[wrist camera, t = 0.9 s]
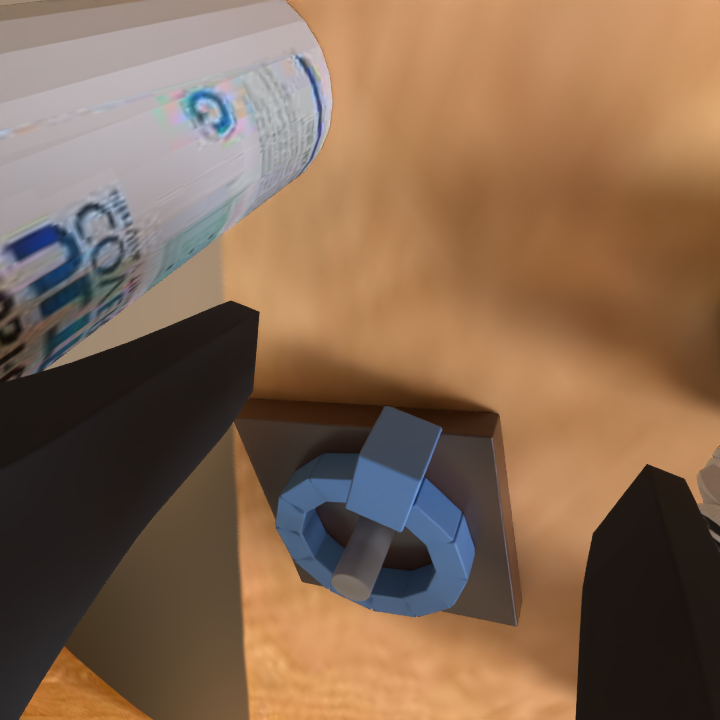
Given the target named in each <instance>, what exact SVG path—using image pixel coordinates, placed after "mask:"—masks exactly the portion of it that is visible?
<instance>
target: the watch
mask: <svg viewBox="0 0 720 720" xmlns="http://www.w3.org/2000/svg"><path fill="white" fill-rule="evenodd" d="M697 481H698V487H699V490H700V493H701V496H702V499H703V502H704V503H700V504H698V507H699V510H700V512H701V514H702V516H703V518H704V520H705V522H706V524H707V526H708V529H709V531H710V533H711V535H712V537H713V539H714V541H715V543H716V545H717V547H718V549H719V552H720V446H719V447H718V448H717V449H716V450H715V452H714V453H713V458H711V459H710V460H709V461H708V463H707V464H706V466H705V467H704V469H702V470H700V471H699V473H698V475H697Z"/></svg>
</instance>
